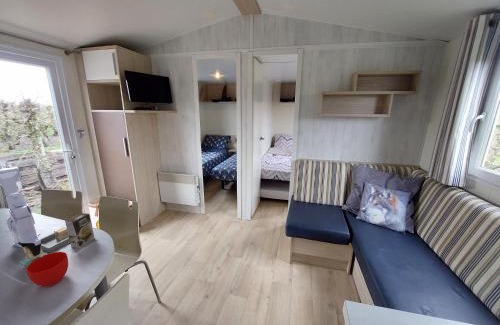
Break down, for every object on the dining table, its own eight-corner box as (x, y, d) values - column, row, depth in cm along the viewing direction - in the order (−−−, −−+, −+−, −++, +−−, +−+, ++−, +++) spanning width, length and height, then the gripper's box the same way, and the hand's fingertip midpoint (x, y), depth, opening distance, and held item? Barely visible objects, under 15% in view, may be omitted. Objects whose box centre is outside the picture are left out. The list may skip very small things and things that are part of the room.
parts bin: (34, 247, 116) (33, 242, 115) (63, 233, 128) (62, 228, 128) (50, 253, 111) (48, 248, 110) (79, 237, 124) (78, 233, 123)
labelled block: (26, 257, 105) (23, 247, 103) (38, 252, 109) (35, 241, 107) (32, 260, 103) (28, 249, 101) (43, 254, 107) (40, 243, 106)
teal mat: (18, 263, 104) (18, 262, 104) (41, 251, 112) (41, 251, 112) (29, 268, 101) (29, 267, 101) (52, 256, 109) (51, 255, 109)
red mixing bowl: (66, 261, 105) (61, 244, 102) (75, 279, 94) (70, 260, 92) (29, 277, 95) (22, 259, 93) (35, 298, 85) (28, 278, 82)
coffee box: (80, 248, 114) (73, 222, 110) (70, 247, 116) (63, 220, 111) (95, 238, 123) (89, 213, 119) (86, 237, 124) (80, 212, 120)
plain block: (56, 240, 121) (53, 230, 119) (65, 235, 125) (63, 226, 124) (61, 241, 119) (58, 232, 118) (70, 237, 124) (68, 228, 122)
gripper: (45, 228, 103) (52, 252, 107) (28, 222, 108) (35, 245, 112) (26, 236, 97) (34, 261, 100) (9, 230, 102) (17, 254, 105)
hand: (34, 253), depth 105 cm, fingers closed on labelled block, 5 cm apart
